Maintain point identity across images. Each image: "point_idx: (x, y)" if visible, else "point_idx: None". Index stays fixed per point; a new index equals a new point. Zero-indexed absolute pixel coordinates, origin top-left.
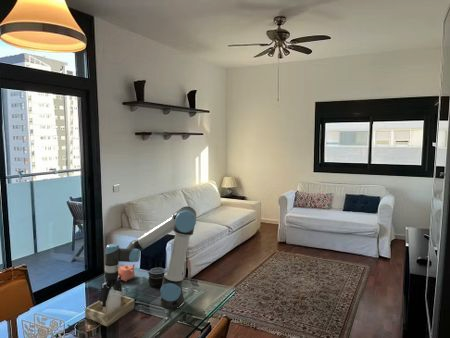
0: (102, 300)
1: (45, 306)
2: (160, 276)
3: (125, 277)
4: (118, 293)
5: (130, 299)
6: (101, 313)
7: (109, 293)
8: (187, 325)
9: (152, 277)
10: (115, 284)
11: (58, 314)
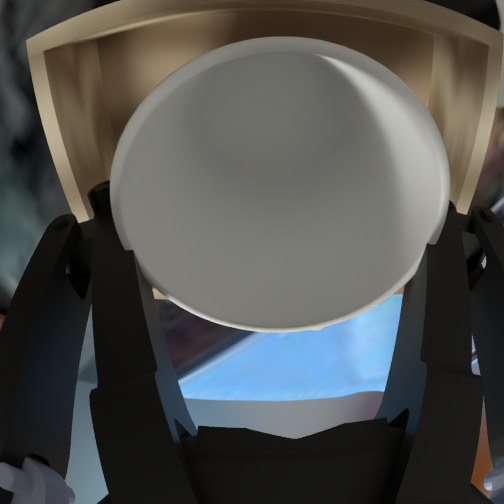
0: (500, 230)
1: (352, 387)
2: None
3: None
4: (140, 188)
5: (50, 74)
6: (488, 123)
7: (253, 297)
8: None
9: None
10: (179, 462)
11: (395, 339)
